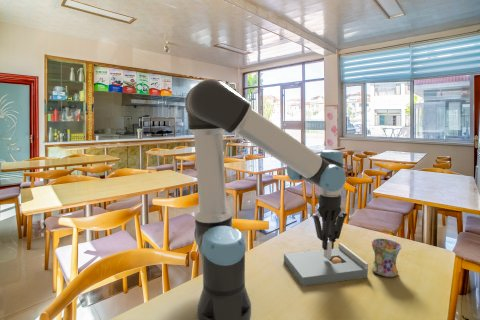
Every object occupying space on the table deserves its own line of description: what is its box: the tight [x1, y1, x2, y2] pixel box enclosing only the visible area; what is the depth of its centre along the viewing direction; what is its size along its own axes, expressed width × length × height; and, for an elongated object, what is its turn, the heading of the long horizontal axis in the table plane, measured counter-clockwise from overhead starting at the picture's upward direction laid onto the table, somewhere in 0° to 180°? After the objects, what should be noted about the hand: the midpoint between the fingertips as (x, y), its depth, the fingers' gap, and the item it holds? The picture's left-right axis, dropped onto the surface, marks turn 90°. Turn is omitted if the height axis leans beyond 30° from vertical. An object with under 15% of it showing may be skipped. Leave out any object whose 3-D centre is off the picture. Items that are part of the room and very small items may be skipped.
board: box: [283, 242, 369, 287], centre depth 105 cm, size 24×17×5 cm
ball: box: [332, 257, 342, 264], centre depth 107 cm, size 4×4×4 cm
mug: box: [370, 238, 402, 278], centre depth 104 cm, size 12×9×11 cm
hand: (327, 257), depth 106 cm, fingers closed
